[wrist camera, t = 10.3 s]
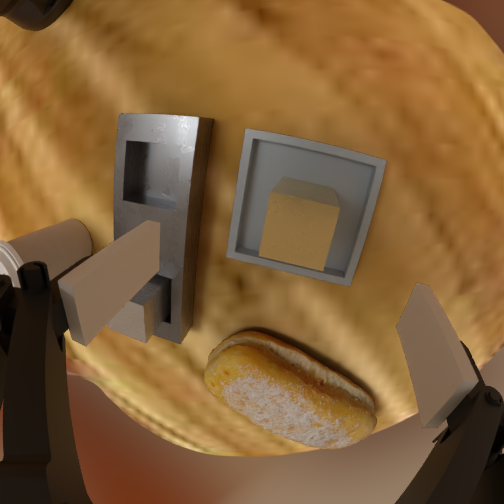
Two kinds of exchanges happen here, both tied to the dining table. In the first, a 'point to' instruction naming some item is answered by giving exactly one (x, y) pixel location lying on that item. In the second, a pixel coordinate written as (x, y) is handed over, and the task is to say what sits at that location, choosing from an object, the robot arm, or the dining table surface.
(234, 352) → the bread
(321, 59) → the dining table surface
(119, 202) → the grey slotted holder
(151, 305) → the grey rectangular block
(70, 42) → the dining table surface
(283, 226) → the tan rectangular block
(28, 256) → the coffee cup
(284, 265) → the parts tray
